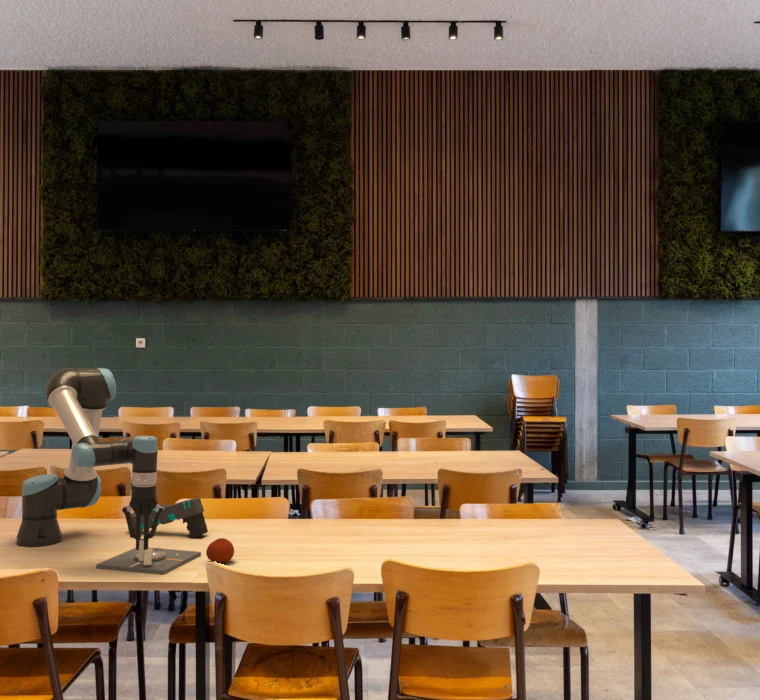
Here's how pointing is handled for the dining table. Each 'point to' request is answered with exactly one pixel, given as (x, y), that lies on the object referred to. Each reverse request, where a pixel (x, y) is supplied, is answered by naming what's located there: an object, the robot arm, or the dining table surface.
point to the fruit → (220, 550)
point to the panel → (158, 567)
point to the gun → (180, 516)
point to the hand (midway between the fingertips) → (141, 560)
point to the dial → (151, 555)
